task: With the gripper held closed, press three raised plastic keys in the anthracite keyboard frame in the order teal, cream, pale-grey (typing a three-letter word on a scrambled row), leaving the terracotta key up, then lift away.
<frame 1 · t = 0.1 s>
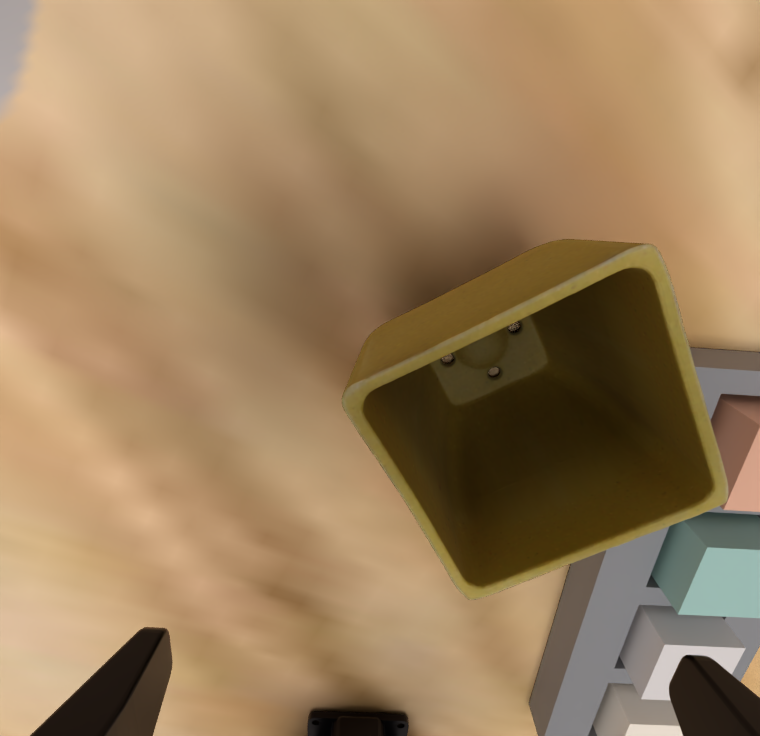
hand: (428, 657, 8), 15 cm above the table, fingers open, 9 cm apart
key c: (713, 559, 23), point 3 cm above the table, slide at 0.0 cm
keyguard frame: (661, 560, 27), on the table
flower pot: (480, 341, 22), on the table
key b: (674, 646, 25), point 3 cm above the table, slide at 0.0 cm
key a: (641, 719, 28), point 3 cm above the table, slide at 0.0 cm
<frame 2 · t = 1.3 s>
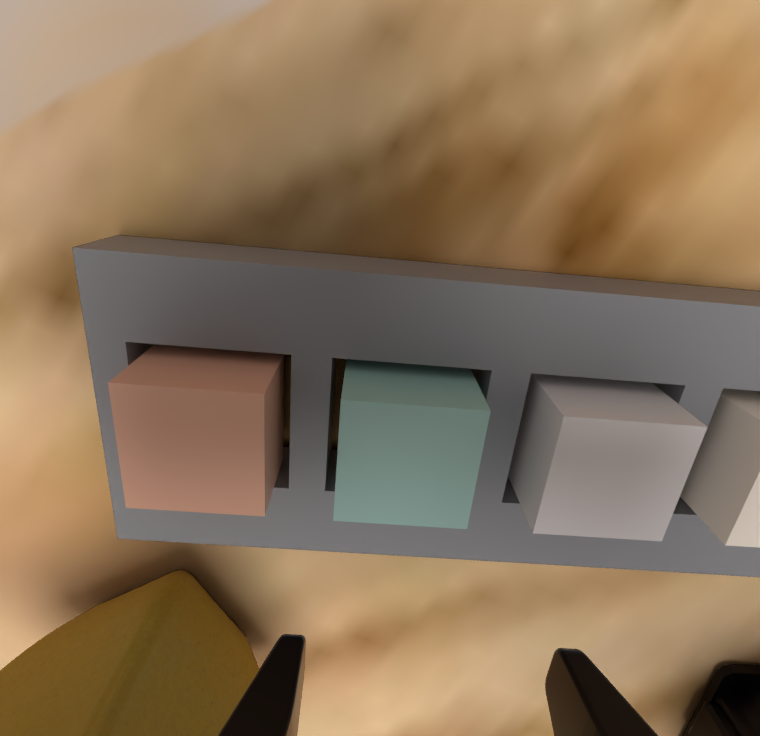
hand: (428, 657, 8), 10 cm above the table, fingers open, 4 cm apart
key c: (404, 440, 15), point 3 cm above the table, slide at 0.0 cm
keyguard frame: (481, 404, 18), on the table
flower pot: (176, 616, 22), on the table
key d: (208, 426, 15), point 3 cm above the table, slide at 0.0 cm
key b: (593, 453, 15), point 3 cm above the table, slide at 0.0 cm
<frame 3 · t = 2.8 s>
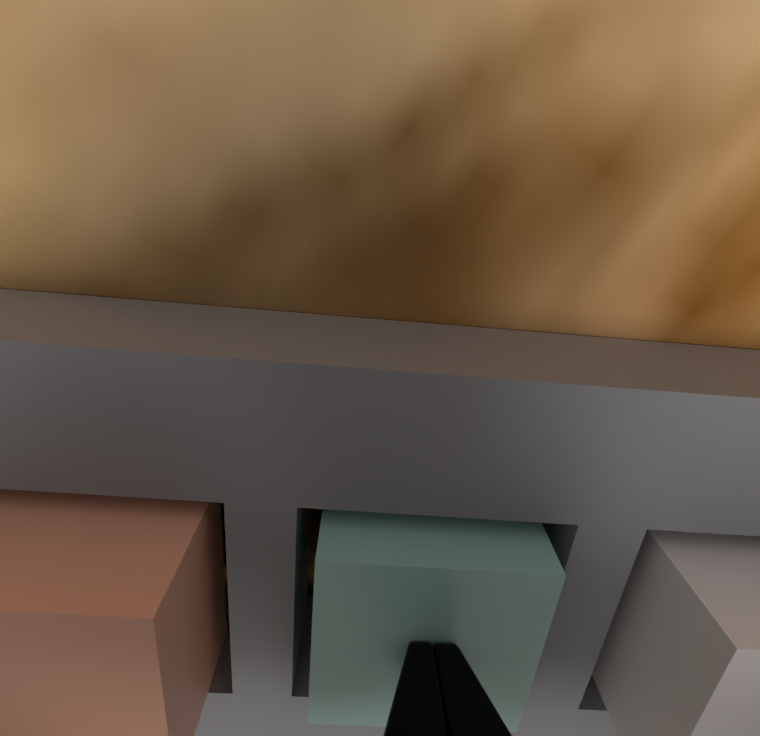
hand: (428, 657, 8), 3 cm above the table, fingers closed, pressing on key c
key c: (418, 586, 10), point 2 cm above the table, slide at 1.2 cm, touching gripper
keyguard frame: (537, 534, 12), on the table
key d: (83, 620, 8), point 3 cm above the table, slide at 0.0 cm
key b: (744, 654, 9), point 3 cm above the table, slide at 0.0 cm
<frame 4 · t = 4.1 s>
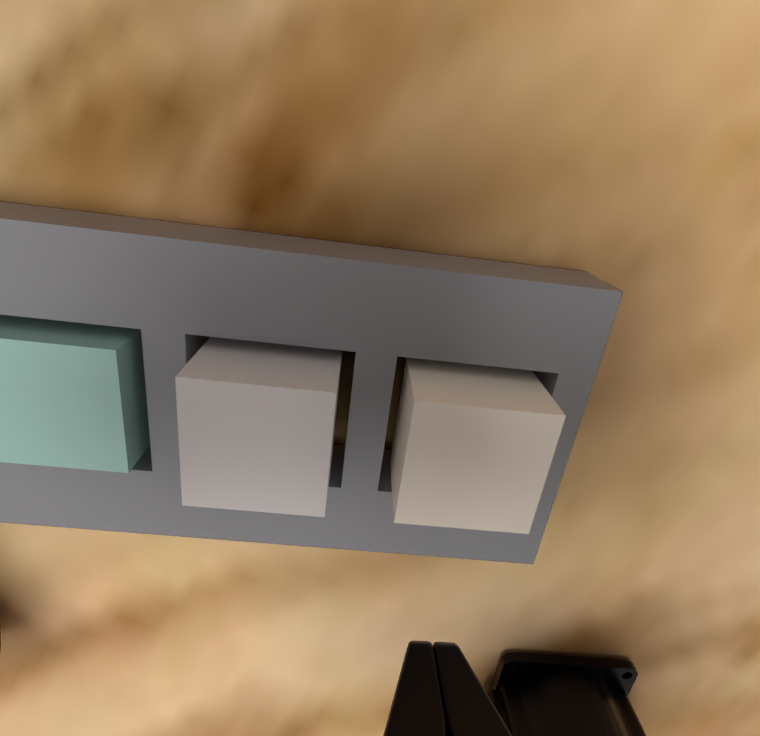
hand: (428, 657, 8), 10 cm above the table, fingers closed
key c: (79, 385, 15), point 2 cm above the table, slide at 1.2 cm
keyguard frame: (195, 372, 17), on the table
key b: (266, 423, 14), point 3 cm above the table, slide at 0.0 cm
key a: (465, 442, 15), point 3 cm above the table, slide at 0.0 cm
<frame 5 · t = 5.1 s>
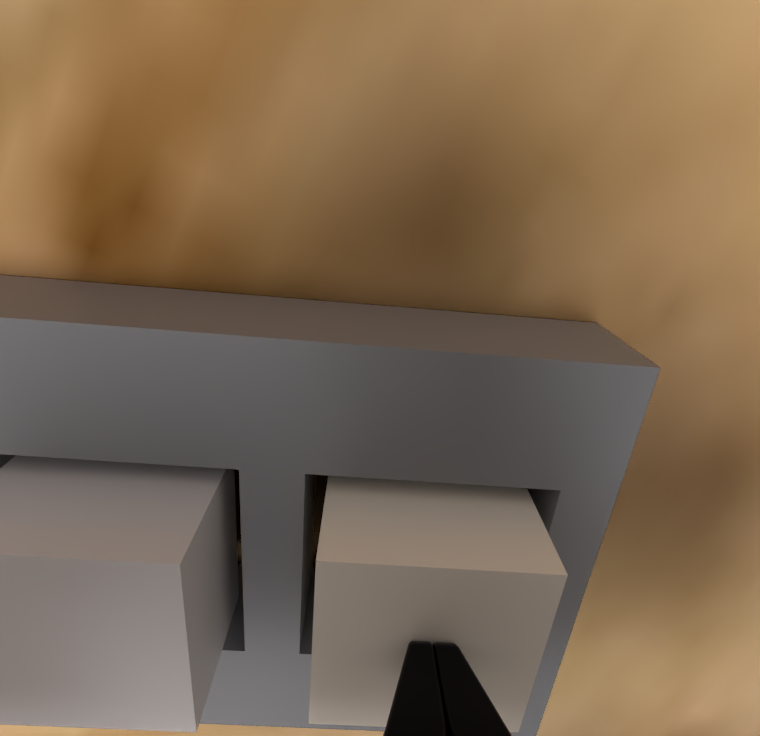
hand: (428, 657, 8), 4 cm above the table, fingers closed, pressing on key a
keyguard frame: (45, 477, 12), on the table
key b: (110, 578, 9), point 3 cm above the table, slide at 0.0 cm
key a: (419, 585, 10), point 3 cm above the table, slide at 0.2 cm, touching gripper
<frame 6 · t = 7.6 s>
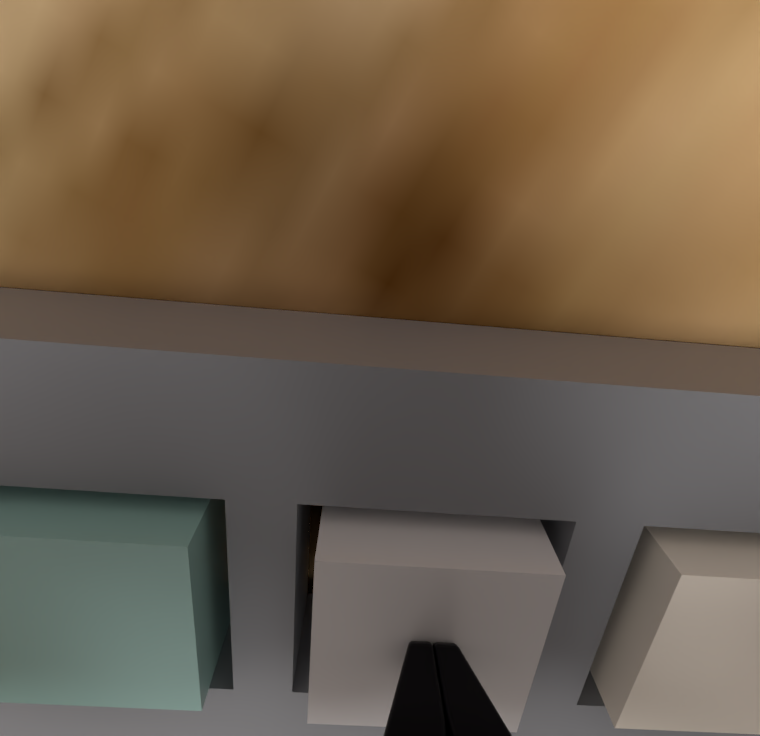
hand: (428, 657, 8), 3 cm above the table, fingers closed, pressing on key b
key c: (119, 563, 10), point 2 cm above the table, slide at 1.2 cm
keyguard frame: (284, 516, 11), on the table
key b: (418, 586, 10), point 2 cm above the table, slide at 1.1 cm, touching gripper
key a: (700, 595, 10), point 2 cm above the table, slide at 1.2 cm
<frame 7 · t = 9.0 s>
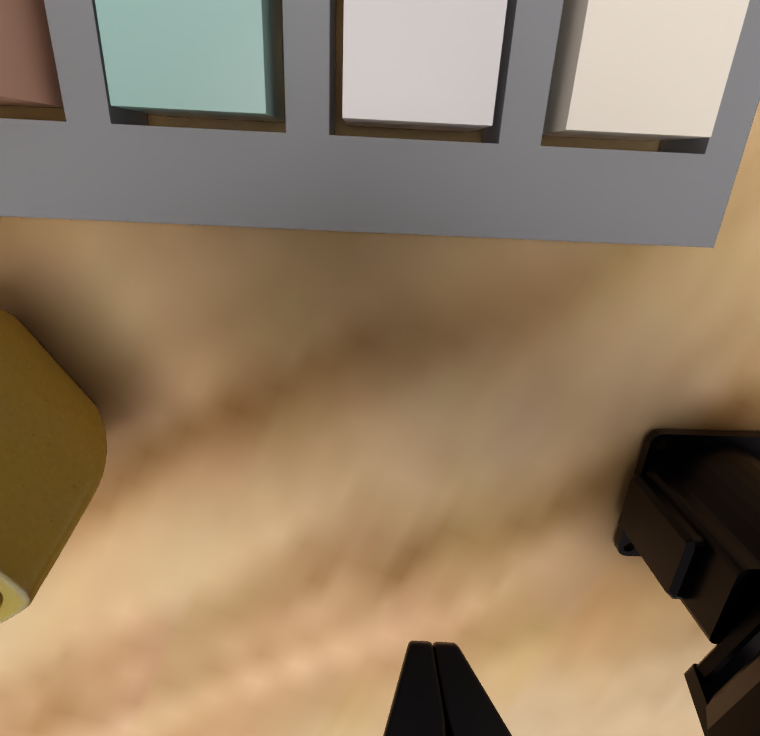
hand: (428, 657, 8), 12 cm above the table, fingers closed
key c: (199, 32, 13), point 2 cm above the table, slide at 1.2 cm
keyguard frame: (316, 51, 15), on the table
flower pot: (18, 387, 19), on the table
key b: (418, 45, 13), point 2 cm above the table, slide at 1.2 cm
key a: (629, 57, 14), point 2 cm above the table, slide at 1.2 cm
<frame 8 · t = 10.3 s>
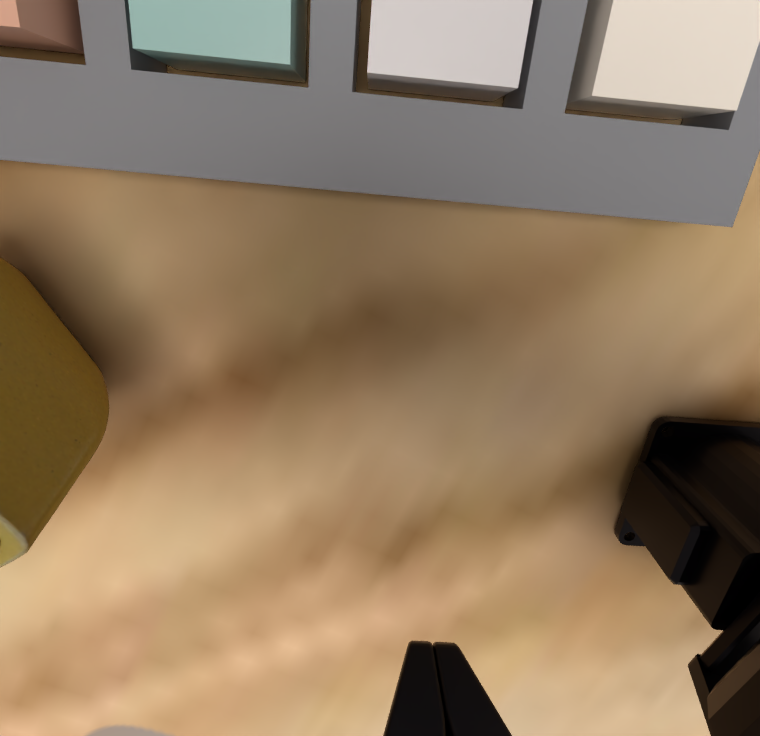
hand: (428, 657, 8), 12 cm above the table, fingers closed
keyguard frame: (340, 11, 15), on the table
flower pot: (20, 346, 19), on the table
key b: (445, 5, 13), point 2 cm above the table, slide at 1.2 cm
key a: (657, 28, 14), point 2 cm above the table, slide at 1.2 cm
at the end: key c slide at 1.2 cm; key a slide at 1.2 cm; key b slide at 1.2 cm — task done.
